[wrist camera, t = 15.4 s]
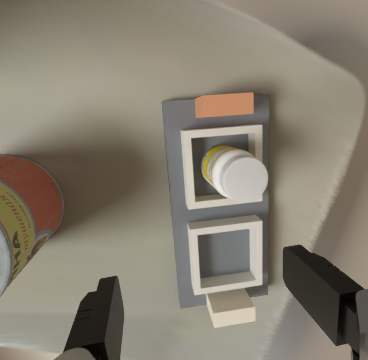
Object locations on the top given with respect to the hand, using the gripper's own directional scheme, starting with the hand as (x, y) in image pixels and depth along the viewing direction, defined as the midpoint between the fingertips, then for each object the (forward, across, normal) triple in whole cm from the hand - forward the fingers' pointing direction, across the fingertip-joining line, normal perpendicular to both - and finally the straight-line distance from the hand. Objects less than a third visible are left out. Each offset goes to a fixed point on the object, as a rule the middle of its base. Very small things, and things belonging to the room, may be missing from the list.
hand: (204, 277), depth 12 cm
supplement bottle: (+18, -6, -1) cm, 19 cm away
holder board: (+19, -6, +4) cm, 21 cm away
